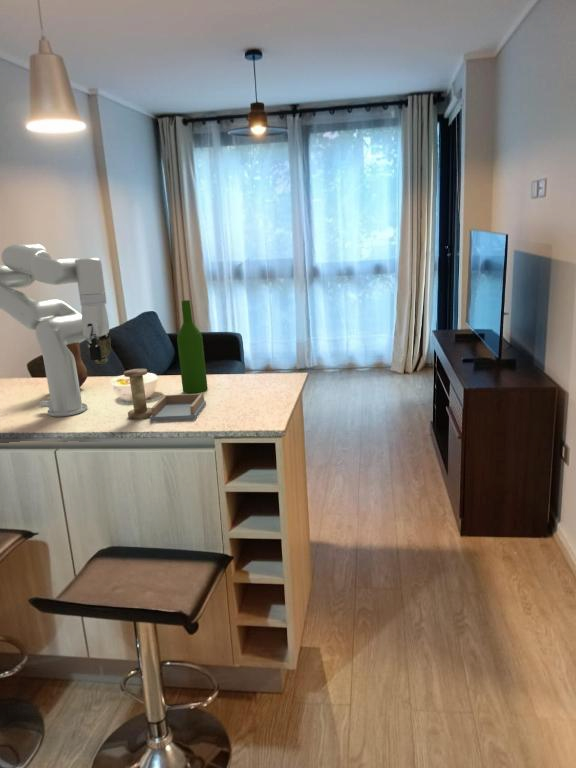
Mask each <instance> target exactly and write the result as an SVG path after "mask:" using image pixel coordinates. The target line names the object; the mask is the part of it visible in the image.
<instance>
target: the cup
mask: <svg viewBox="0 0 576 768" xmlns="http://www.w3.org/2000/svg"><path fill="white" fill-rule="evenodd" d="M92 337H95V336H92ZM94 341H95V342H96V339H94ZM111 341H112V339H111V335H110V334H109V335H108V336H107V337H105V336H104V338H103V337H100V338H99V347H100V349H101V357H102V359H101V360H94V362H95V363H96V364H105V363H107V362H108V357H109V356H110V355H111V351H112V350H111V349H112V346H111V345H112V344H111V343H112V342H111ZM85 342H86V347H87V350H88V353H89V354H90V349H89V346H88V342H87V339H85ZM109 354H110V355H109Z"/></svg>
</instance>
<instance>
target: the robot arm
mask: <svg viewBox="0 0 576 768" xmlns="http://www.w3.org/2000/svg"><path fill="white" fill-rule="evenodd" d="M1 261H2V263H3V264H2V263H1V264H0V310H2V311H4V312H6V313H7V314H8V315H10V316H11V317H12V318H13V319H15V320H16V321H18V322H19V323H20V324H21V325H23V326H24V327H25V328H27V329H29V330H31V331H35V337H36V340H37V342H38V345H39V348H40V350H41V353H42V357H43V358H42V359H43V364H44V369H45V377H46V381H47V385H48V392H49V398H50V399H48V400H41V401H40V403H39V404H40V408H48V410H47V412H46V413H47V415H48V416H50V417H56V418H59V417H69V416H75V415H77V414H81V413H83V412H85V411H87V410H88V405H87V404H86V403H83V402H82V395H81V387H80V388H79V381H78V375H77V369H76V363H75V358H74V356H73V354H72V352H71V351H70V350H69V349H68V347H67V346H66V345H68V344H72V343H76V342H79V343H80V342H83V341H84V340H85V341H86V339H87V342H88V346H89V349H90V353H89V356H90V360H91V361H95V360H101V359H102V357H101V349H100V347H99V338H100V337H103V338H104V336H105V337H107V336H108V335H109V336H110V334H109V332H110V324H109V317H108V312H107V307H106V304H108V303H107V295H106V288H105V281H104V273H103V272H104V271H103V266H102V261H101V259H100V258H98V257H66V258H53V259H52V256H51V254H50V253H49V252H48V250H47V249H46V248H45V247H44V246H43V245H41V244H40V243H34V242H32V243H21V244H20V243H18V244H10V245H8V246H7V247H5V248H4V249H3V250H2V252H1ZM35 281H37V282H40V283H43V284H47V285H52V286H54V285H55V286H59V285H60V286H61V285H66V284H67V285H68V284H76V283H77V287H78V296H79V301H80V306H81V313H80V312H79V311H77V310H76V309H74V308H73V307H72V306H71V305H70V304H67V303H66V301H63V300H61V299H58V298H49V299H48V298H47V299H41V300H38V299H37V300H36V299H33V298H31V297H30V296H28V295H27V294H26V293H24V292H22V291H20V290H17V289H22V288H28V287H31V285H33V283H34V282H35ZM93 336H94V337H93ZM94 339H96V342H95V341H94ZM110 355H111V353H110V354H109V356H110Z"/></svg>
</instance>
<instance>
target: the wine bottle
mask: <svg viewBox="0 0 576 768" xmlns="http://www.w3.org/2000/svg"><path fill="white" fill-rule="evenodd" d="M191 306H192V305H191V300H189V299H188V300H182V301H181V310H182V325H181V327H180V329H179V330H178V331H179V332H178V333H177V336H176V337H177V338H176V341H177V343H176V344H177V350H178V359H179V368H180V377H181V384H182V385H181V386H182V392H183V394H186V393H187V394H195V393H197V394H201V392H202V393H204V392H207V390H208V378H207V370H206V369H207V368H206V360H205V351H204V342H203V341H204V340H203V335H202V332H201V330H200V329H199V328H198V327H197V325H196V324H195V323H194V321H193V317H192V316H193V314H192V309H191V308H192V307H191Z"/></svg>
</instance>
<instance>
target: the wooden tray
mask: <svg viewBox="0 0 576 768" xmlns="http://www.w3.org/2000/svg"><path fill="white" fill-rule="evenodd" d="M204 395H205V394H204V392H202V393H197V394H186V393H183V394H168V395H167V394H164V395H163V396H162V397H161V398H160V399H158V401H157V402H156V403H155V404H154V405H153V406H152V407H150V408H151V410H152V415H151V416H150V417H149V422H150V423H151V422H152V423H154V422H153V421H158V422H174V421H175V422H176V421H177V420H180V421H194V420H193V419H196V420H197V418H198V417H199V416H200V414H201V413H202V412H203V410H204V409H205V407H206V406H207V402H206V400H205V396H204ZM205 405H206V406H205ZM204 406H205V407H204ZM203 408H204V409H203ZM202 409H203V410H202ZM200 412H201V413H200ZM199 413H200V414H199ZM198 415H199V416H198ZM197 416H198V417H197ZM177 422H178V421H177Z"/></svg>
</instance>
